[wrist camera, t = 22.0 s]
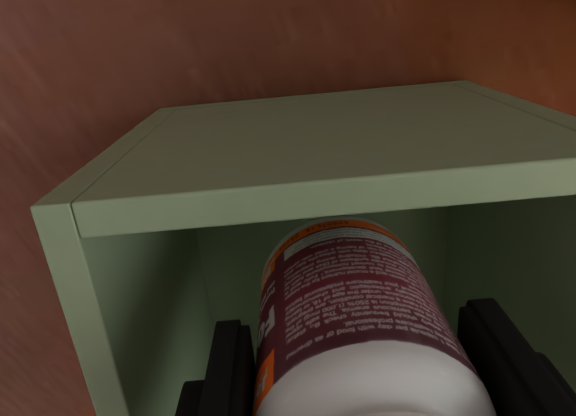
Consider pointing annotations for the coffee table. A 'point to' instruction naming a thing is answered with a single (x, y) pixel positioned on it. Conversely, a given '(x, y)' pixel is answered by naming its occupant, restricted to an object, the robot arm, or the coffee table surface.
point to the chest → (306, 220)
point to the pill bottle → (356, 330)
